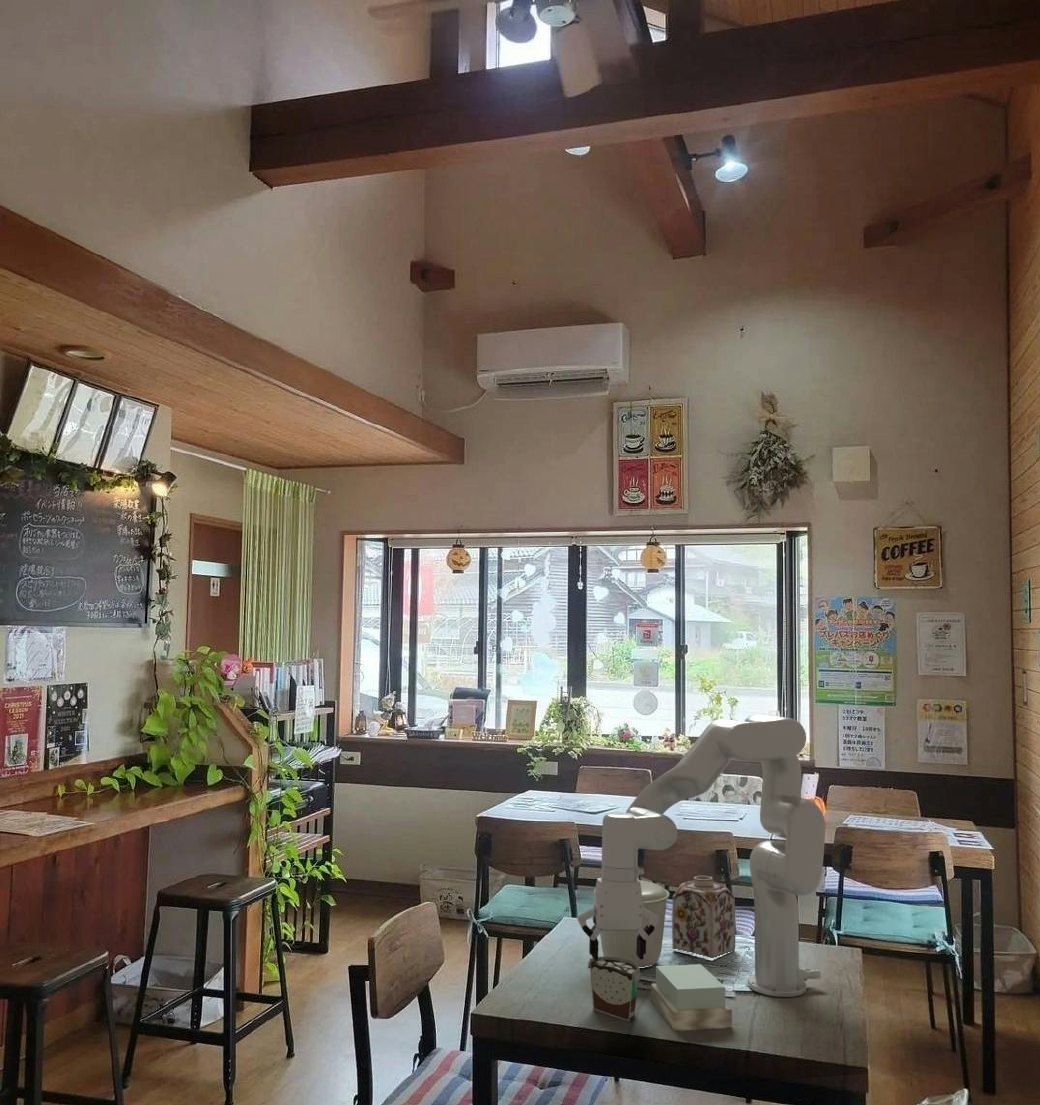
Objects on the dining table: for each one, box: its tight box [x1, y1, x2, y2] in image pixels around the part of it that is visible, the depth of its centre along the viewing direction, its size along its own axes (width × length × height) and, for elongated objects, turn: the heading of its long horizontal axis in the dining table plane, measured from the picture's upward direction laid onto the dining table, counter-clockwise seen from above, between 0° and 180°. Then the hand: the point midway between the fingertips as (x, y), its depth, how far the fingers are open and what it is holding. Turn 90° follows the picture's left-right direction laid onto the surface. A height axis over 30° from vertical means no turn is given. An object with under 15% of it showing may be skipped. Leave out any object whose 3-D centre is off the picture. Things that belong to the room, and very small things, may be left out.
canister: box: [593, 876, 671, 967], centre depth 235 cm, size 18×18×21 cm
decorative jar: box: [671, 875, 736, 958], centre depth 243 cm, size 12×12×18 cm
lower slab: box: [650, 983, 733, 1032], centre depth 203 cm, size 12×16×4 cm
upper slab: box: [655, 963, 726, 1010], centre depth 203 cm, size 10×14×4 cm
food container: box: [587, 955, 642, 1022], centre depth 204 cm, size 12×6×10 cm, turn 47°
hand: (617, 957), depth 204 cm, fingers open, 9 cm apart
